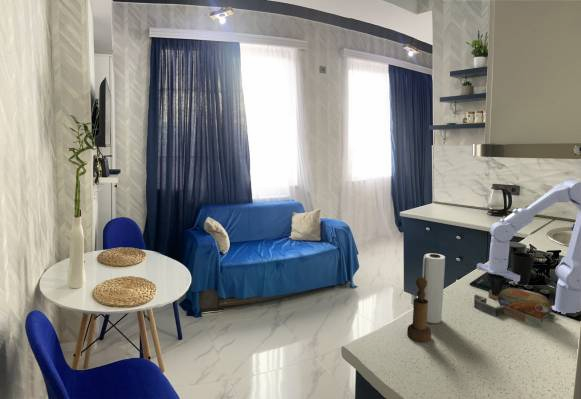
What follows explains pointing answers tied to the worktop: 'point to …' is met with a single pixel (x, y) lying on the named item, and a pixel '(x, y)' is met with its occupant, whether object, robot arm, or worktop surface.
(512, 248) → the supplement container
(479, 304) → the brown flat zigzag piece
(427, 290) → the paper towel roll
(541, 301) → the tin
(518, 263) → the cup
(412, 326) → the mortar and pestle
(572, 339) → the worktop surface
